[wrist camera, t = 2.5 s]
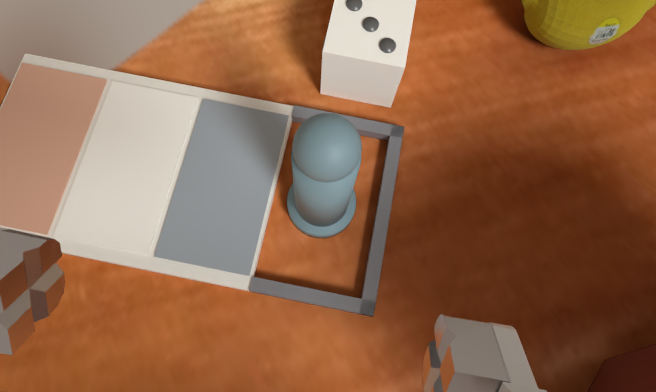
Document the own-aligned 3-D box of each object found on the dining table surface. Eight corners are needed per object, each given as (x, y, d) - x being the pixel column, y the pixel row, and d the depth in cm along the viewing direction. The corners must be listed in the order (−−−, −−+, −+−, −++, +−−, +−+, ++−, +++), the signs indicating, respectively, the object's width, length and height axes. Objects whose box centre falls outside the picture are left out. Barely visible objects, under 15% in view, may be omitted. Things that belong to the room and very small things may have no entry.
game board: (371, 316, 34) (373, 315, 33) (-48, 230, 35) (-57, 227, 34) (401, 132, 39) (404, 126, 38) (30, 58, 39) (23, 51, 38)
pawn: (348, 244, 36) (370, 190, 23) (281, 230, 36) (266, 170, 23) (359, 181, 37) (386, 98, 25) (295, 168, 37) (289, 79, 25)
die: (390, 107, 39) (405, 66, 33) (318, 93, 39) (320, 50, 34) (401, 45, 41) (417, -4, 35) (332, 32, 41) (336, -19, 35)
